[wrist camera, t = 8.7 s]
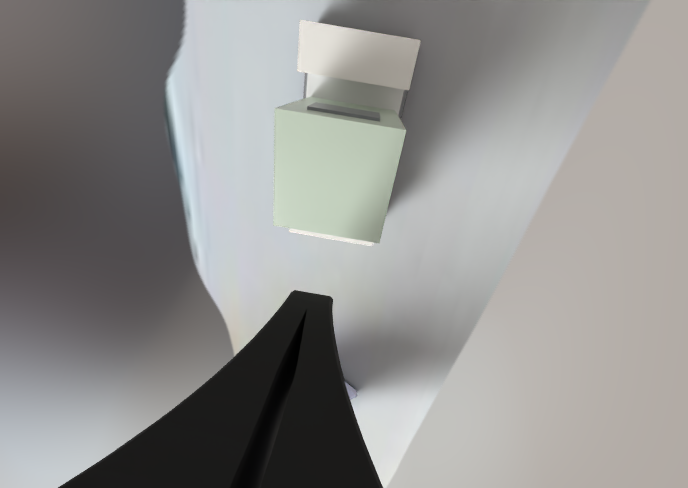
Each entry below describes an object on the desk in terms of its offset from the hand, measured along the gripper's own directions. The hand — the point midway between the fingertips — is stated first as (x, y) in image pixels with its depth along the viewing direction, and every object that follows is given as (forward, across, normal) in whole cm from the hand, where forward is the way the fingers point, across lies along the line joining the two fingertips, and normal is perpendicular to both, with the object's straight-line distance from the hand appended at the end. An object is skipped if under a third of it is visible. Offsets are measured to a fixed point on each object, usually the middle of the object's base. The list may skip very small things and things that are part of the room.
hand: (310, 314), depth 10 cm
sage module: (+8, 0, -4) cm, 9 cm away
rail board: (+9, 0, -4) cm, 10 cm away
